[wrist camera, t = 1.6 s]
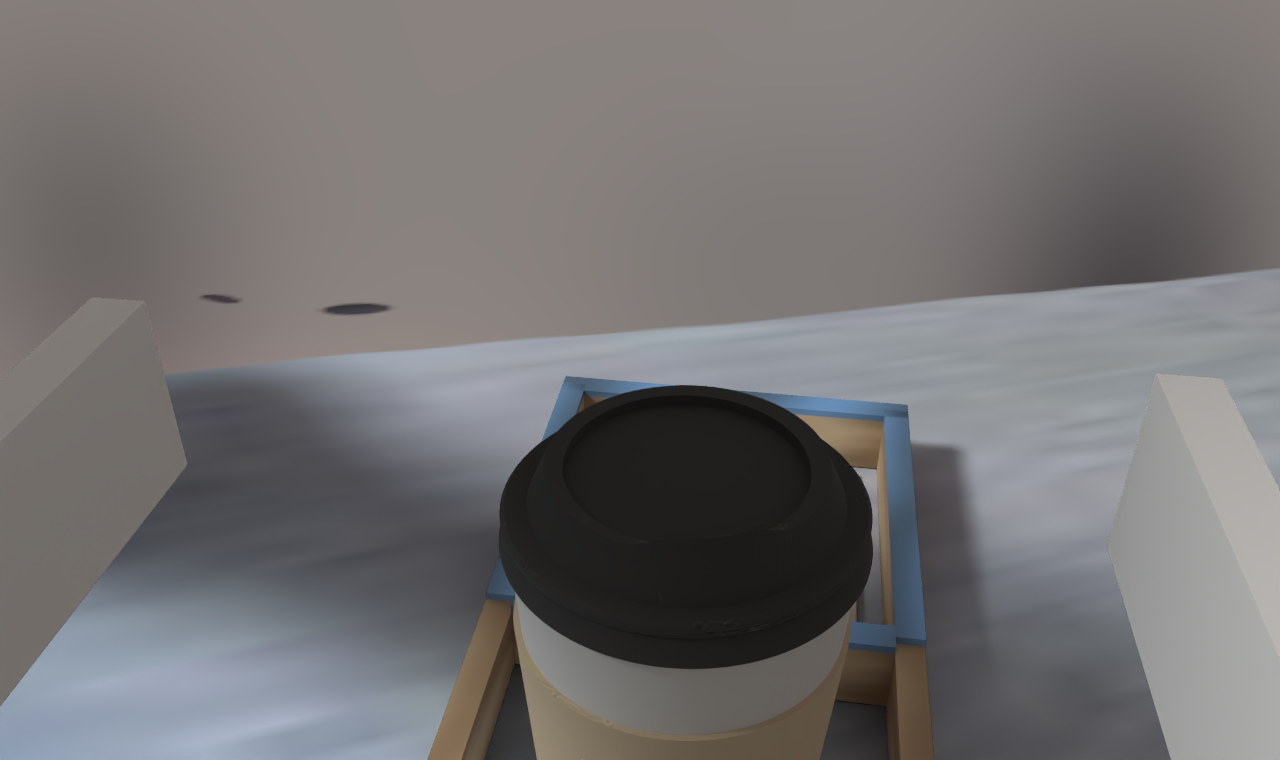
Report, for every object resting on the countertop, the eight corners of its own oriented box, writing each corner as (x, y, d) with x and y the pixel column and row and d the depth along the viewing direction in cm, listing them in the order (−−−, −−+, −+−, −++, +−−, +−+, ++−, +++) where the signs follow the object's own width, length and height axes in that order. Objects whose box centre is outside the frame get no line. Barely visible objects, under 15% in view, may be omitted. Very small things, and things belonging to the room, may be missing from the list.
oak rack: (355, 1042, 30) (340, 983, 29) (567, 427, 54) (565, 376, 52) (943, 1135, 29) (961, 1077, 27) (899, 457, 52) (907, 405, 50)
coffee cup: (515, 745, 38) (484, 359, 30) (782, 713, 40) (822, 333, 31) (536, 1017, 31) (502, 602, 23) (864, 969, 32) (945, 557, 24)
